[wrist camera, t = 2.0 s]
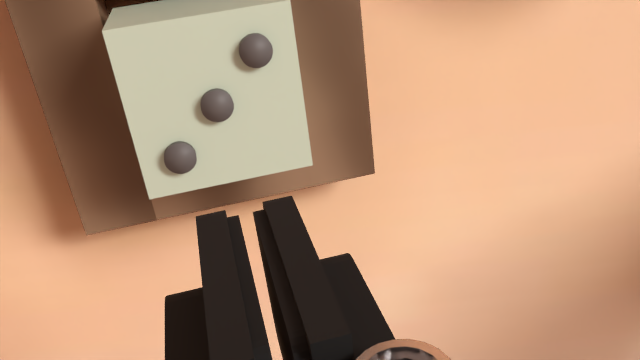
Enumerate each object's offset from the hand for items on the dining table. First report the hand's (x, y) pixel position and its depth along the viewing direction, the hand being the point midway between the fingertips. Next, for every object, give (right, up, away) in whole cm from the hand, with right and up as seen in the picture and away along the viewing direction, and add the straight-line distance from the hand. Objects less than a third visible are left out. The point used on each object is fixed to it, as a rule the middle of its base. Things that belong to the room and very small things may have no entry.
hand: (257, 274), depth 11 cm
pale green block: (-3, +6, +13) cm, 15 cm away
